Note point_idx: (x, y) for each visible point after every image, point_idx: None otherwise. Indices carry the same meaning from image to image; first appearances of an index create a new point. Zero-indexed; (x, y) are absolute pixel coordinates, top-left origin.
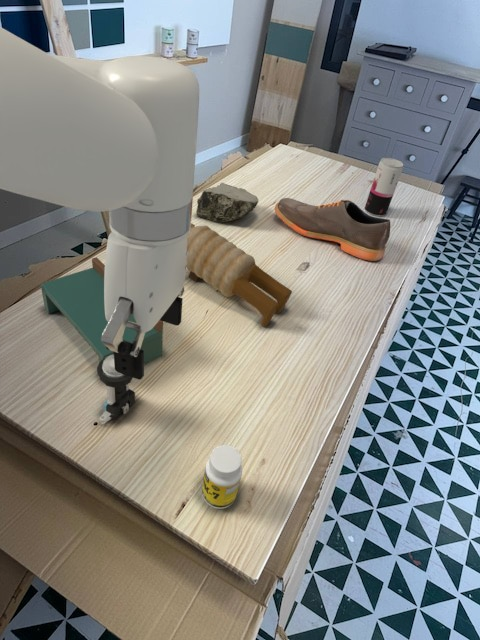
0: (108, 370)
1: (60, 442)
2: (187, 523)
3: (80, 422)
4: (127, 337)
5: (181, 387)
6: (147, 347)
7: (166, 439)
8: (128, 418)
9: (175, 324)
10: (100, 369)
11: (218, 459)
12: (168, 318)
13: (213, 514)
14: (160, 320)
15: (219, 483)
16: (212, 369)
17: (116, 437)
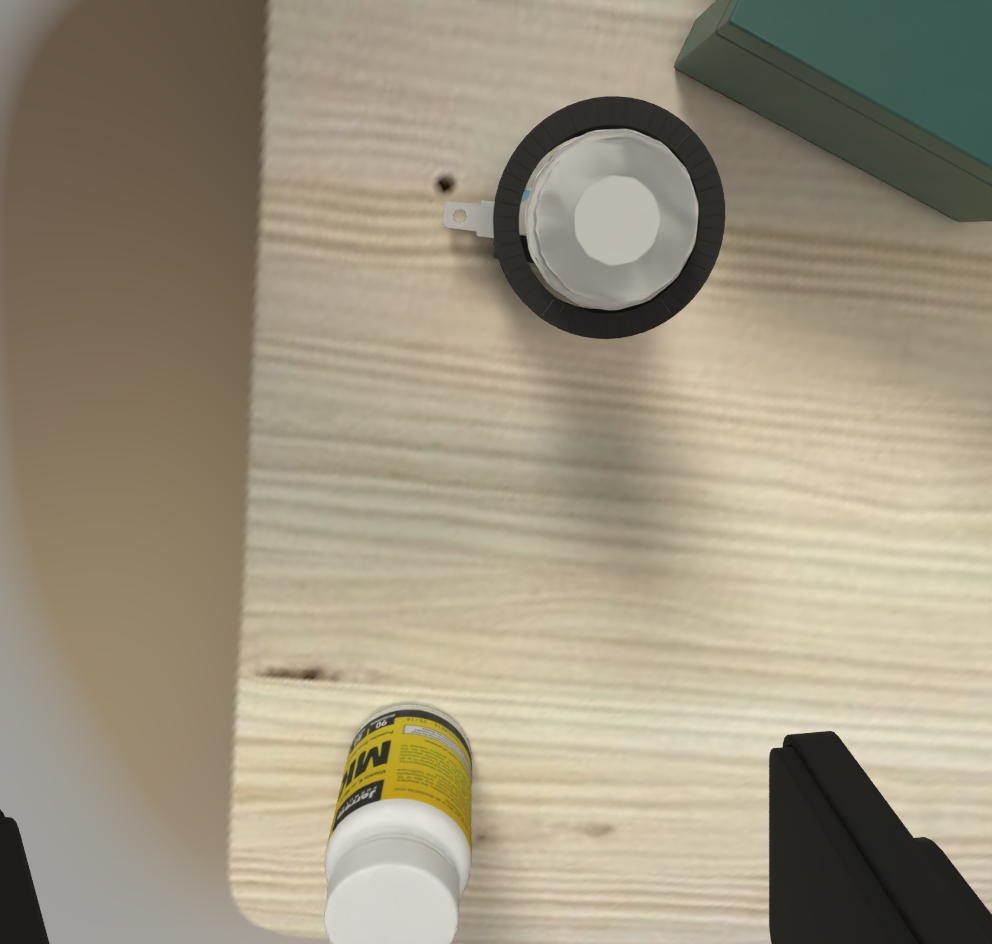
0: (537, 216)
1: (286, 107)
2: (261, 714)
3: (416, 116)
4: (939, 56)
5: (802, 411)
6: (943, 174)
7: (519, 493)
8: None
9: (773, 930)
10: (551, 141)
11: (368, 901)
12: (792, 900)
13: (333, 769)
14: (769, 785)
15: (327, 880)
16: (965, 483)
17: (428, 309)
